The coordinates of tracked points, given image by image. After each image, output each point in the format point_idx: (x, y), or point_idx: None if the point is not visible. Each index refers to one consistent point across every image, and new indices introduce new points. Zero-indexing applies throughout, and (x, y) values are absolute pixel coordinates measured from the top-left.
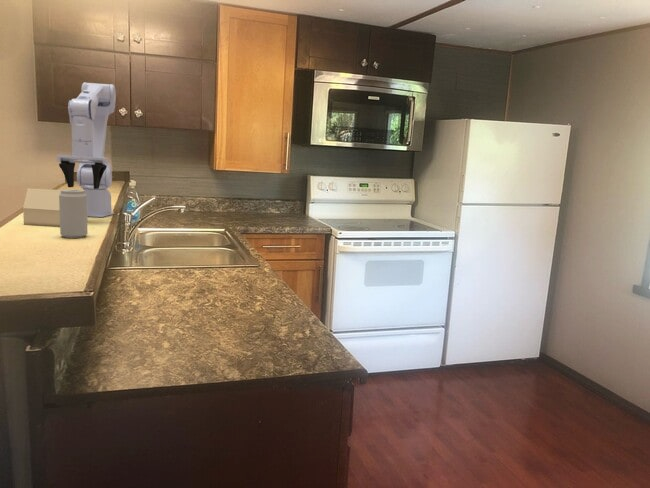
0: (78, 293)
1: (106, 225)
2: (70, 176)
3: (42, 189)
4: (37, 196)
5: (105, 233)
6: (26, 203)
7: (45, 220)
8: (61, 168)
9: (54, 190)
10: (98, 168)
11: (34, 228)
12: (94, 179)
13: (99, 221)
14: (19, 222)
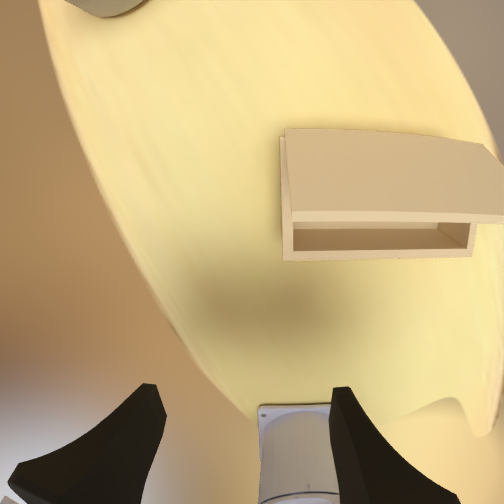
0: None
1: (142, 254)
2: (346, 461)
3: (471, 210)
4: (466, 178)
5: (63, 86)
6: (486, 157)
7: None
8: (428, 483)
9: (381, 206)
10: (26, 464)
11: (359, 63)
12: (116, 422)
13: (221, 336)
14: None
